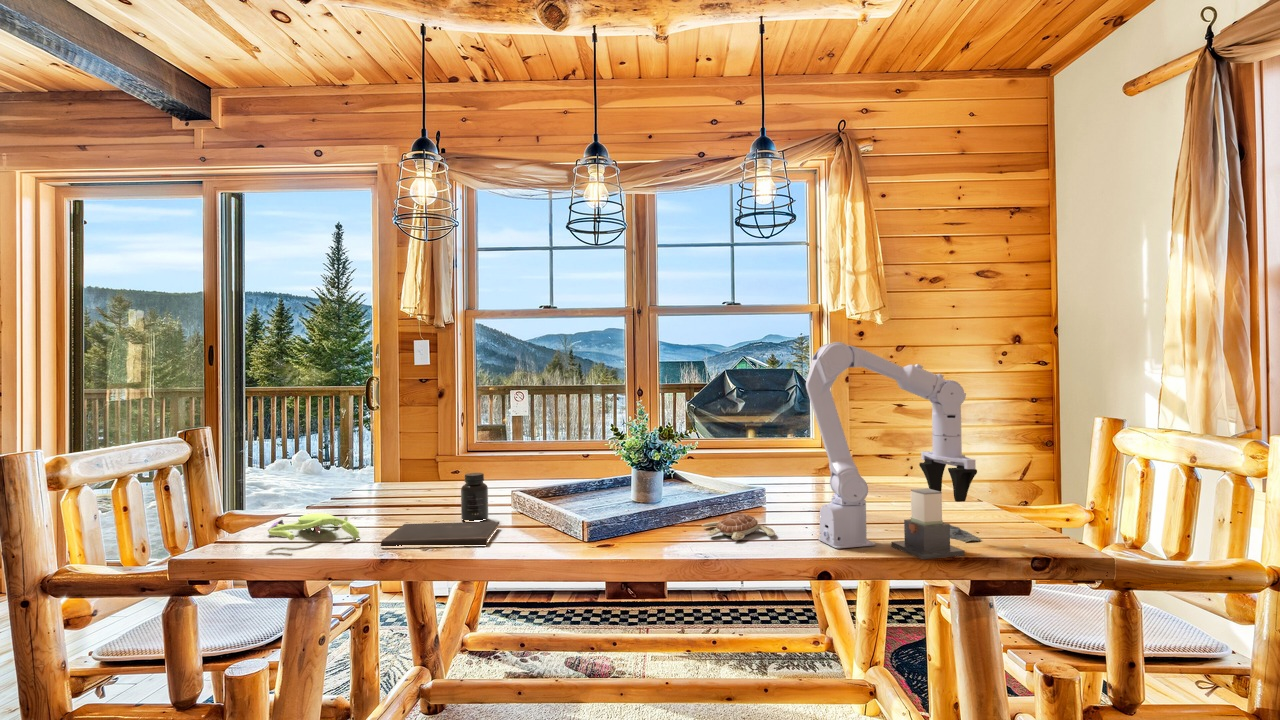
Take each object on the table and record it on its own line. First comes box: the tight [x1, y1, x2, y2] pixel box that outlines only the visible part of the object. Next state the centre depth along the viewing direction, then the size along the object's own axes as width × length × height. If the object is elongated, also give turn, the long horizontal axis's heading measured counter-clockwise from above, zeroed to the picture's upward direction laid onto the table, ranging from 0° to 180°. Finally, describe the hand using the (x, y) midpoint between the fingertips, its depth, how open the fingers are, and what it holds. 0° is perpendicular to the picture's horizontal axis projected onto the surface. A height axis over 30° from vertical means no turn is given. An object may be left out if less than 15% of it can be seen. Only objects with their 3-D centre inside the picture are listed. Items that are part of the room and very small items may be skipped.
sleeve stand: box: [890, 518, 966, 560], centre depth 135 cm, size 10×10×6 cm
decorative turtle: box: [701, 512, 776, 541], centre depth 151 cm, size 18×17×5 cm
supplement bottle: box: [460, 472, 489, 521], centre depth 168 cm, size 7×7×12 cm
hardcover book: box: [380, 521, 500, 547], centre depth 150 cm, size 16×23×2 cm
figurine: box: [267, 512, 361, 541], centre depth 153 cm, size 18×27×6 cm
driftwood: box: [946, 522, 982, 544], centre depth 151 cm, size 21×7×2 cm, turn 0°
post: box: [910, 487, 944, 526], centre depth 135 cm, size 4×4×9 cm
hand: (947, 497), depth 140 cm, fingers open, 7 cm apart
